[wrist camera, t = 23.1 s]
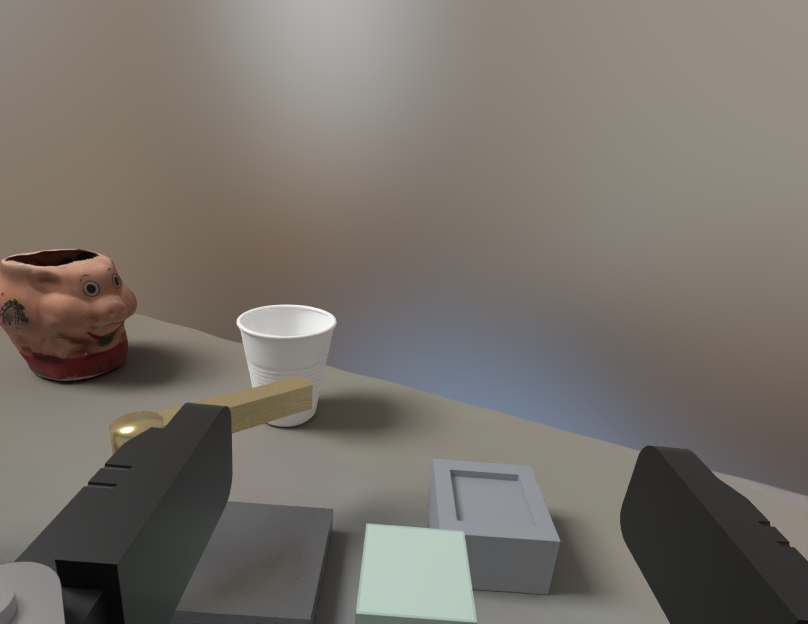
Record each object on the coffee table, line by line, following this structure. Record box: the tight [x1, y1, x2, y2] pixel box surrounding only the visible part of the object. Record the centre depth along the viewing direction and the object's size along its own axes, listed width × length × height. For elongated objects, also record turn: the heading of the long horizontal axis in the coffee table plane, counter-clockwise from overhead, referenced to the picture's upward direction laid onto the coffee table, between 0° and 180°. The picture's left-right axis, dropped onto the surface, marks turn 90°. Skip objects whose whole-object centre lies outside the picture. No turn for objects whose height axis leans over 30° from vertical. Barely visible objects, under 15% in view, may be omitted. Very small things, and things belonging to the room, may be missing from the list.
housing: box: [428, 459, 561, 595], centre depth 36 cm, size 8×8×5 cm
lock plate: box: [169, 501, 333, 624], centre depth 32 cm, size 13×9×2 cm
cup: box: [237, 305, 336, 427], centre depth 50 cm, size 10×10×11 cm
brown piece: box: [110, 376, 313, 455], centre depth 33 cm, size 13×3×9 cm, turn 131°
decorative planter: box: [0, 249, 137, 381], centre depth 56 cm, size 20×12×14 cm, turn 73°
